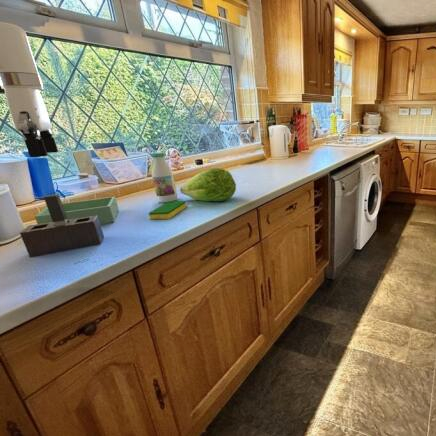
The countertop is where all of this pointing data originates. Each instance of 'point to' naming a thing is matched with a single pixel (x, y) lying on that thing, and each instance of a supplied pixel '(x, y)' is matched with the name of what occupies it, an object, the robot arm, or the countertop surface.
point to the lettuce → (210, 185)
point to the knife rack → (62, 236)
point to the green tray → (85, 210)
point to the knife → (56, 209)
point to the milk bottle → (163, 179)
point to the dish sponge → (167, 210)
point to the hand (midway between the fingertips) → (45, 154)
